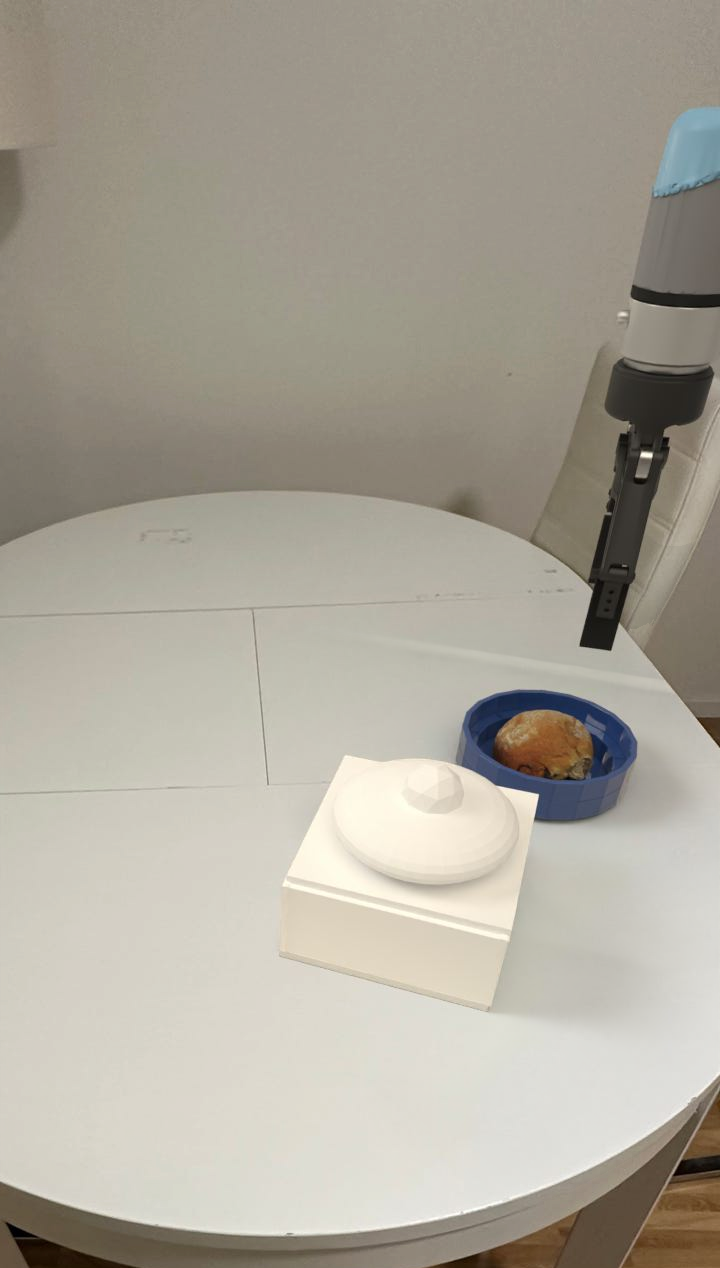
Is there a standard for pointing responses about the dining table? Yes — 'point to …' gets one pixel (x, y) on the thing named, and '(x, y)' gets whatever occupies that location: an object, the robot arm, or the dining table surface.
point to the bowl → (555, 796)
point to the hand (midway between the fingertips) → (598, 613)
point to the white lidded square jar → (410, 878)
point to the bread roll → (545, 745)
